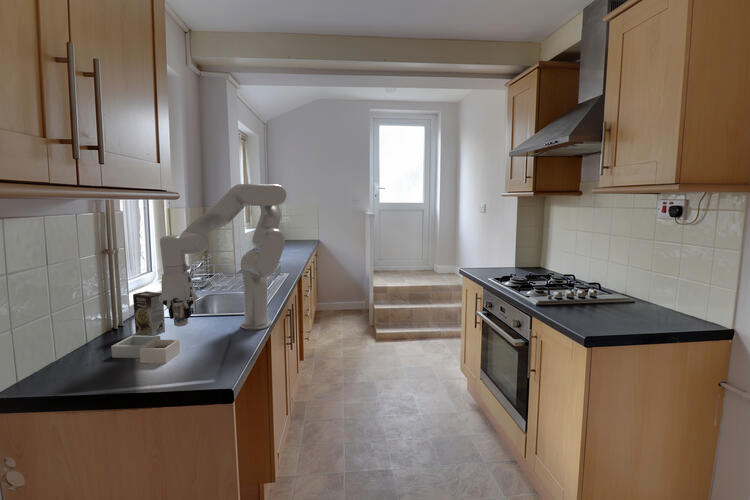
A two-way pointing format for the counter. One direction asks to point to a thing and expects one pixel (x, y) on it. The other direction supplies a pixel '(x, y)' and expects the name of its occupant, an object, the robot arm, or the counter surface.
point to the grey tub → (131, 346)
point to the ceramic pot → (159, 351)
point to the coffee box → (148, 313)
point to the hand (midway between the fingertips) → (180, 317)
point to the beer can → (178, 312)
